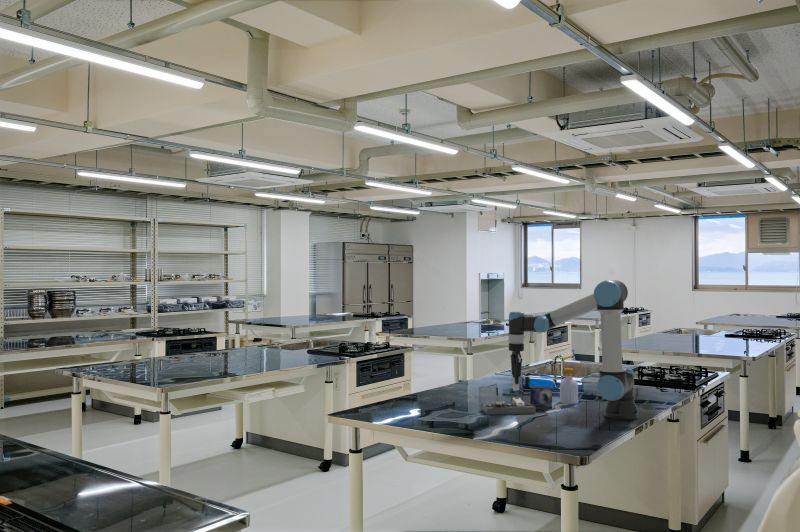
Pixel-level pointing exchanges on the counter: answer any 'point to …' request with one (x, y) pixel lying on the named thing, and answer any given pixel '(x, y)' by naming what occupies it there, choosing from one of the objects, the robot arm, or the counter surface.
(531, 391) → the small box
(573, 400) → the soap bottle
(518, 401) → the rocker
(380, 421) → the counter surface
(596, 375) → the aluminum foil
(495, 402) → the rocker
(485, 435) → the counter surface
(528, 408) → the power strip
